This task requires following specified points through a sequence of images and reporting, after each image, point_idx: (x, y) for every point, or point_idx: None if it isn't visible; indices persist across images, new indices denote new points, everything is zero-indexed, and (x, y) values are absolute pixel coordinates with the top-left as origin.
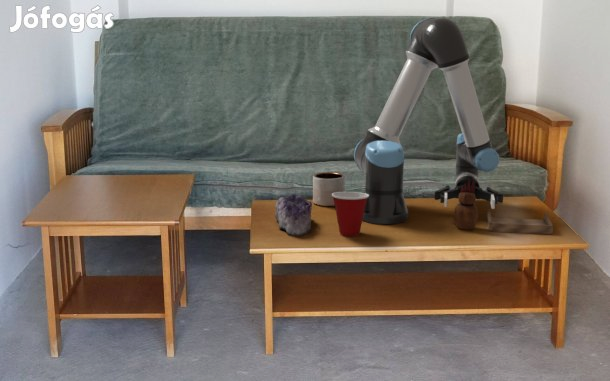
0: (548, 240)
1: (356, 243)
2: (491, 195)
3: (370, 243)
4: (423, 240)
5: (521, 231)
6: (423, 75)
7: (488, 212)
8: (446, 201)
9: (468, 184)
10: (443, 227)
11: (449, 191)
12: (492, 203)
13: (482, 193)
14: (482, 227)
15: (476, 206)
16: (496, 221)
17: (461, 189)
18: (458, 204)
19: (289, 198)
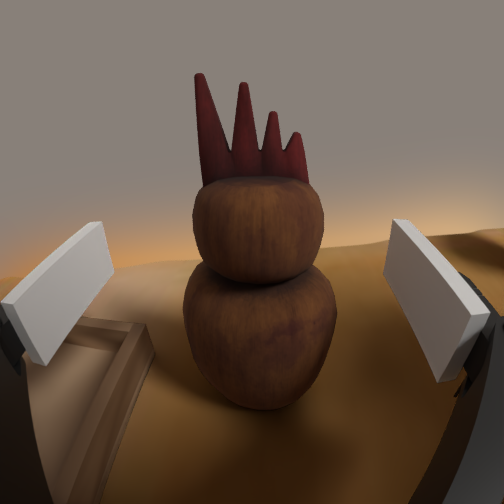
0: None
1: (486, 238)
2: (33, 281)
3: (469, 240)
4: None
5: None
6: None
7: (62, 502)
8: (392, 241)
9: (248, 112)
10: (371, 377)
11: (488, 391)
12: (104, 242)
13: (5, 444)
14: (166, 402)
15: (193, 274)
16: (62, 456)
17: (303, 154)
18: (316, 270)
19: None
